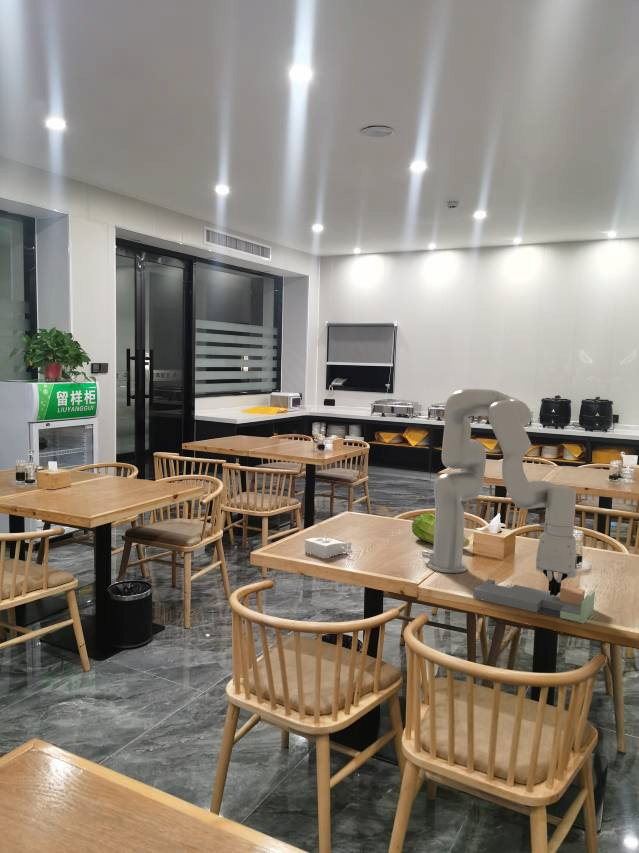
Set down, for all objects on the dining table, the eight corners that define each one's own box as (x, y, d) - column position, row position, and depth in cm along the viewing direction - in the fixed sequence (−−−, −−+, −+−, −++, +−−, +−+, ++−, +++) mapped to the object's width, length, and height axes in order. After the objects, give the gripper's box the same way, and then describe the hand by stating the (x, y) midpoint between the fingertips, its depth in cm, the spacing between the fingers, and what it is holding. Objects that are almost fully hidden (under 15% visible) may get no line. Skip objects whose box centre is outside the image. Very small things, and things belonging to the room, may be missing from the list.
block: (559, 600, 176) (560, 590, 176) (563, 596, 181) (564, 585, 181) (580, 605, 174) (581, 594, 173) (584, 600, 178) (584, 589, 178)
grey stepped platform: (472, 597, 183) (474, 579, 183) (488, 585, 194) (489, 568, 194) (583, 623, 167) (585, 603, 166) (593, 609, 178) (595, 589, 177)
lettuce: (452, 542, 224) (473, 518, 230) (402, 523, 243) (422, 502, 248) (462, 565, 230) (482, 541, 236) (412, 545, 249) (432, 524, 254)
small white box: (365, 562, 223) (334, 563, 211) (323, 550, 237) (292, 549, 225) (368, 539, 223) (338, 539, 211) (327, 528, 237) (296, 527, 225)
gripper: (527, 528, 179) (523, 591, 180) (584, 537, 171) (579, 604, 172) (535, 523, 185) (530, 585, 187) (590, 532, 177) (585, 596, 178)
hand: (554, 594), depth 179 cm, fingers closed
